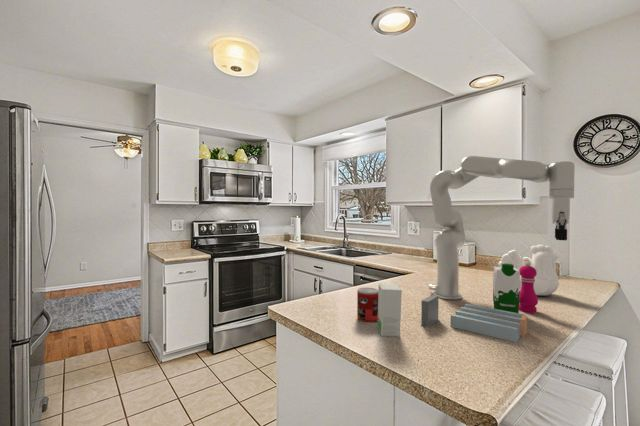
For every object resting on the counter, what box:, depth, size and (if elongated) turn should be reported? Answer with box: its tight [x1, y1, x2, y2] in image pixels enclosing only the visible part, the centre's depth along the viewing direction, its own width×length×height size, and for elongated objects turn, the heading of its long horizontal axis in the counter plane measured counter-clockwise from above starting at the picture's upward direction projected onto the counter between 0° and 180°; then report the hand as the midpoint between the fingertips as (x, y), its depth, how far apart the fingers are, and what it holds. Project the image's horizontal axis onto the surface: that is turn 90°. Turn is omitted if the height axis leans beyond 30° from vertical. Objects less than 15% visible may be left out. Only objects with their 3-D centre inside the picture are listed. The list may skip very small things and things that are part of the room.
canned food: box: [356, 287, 379, 323], centre depth 117 cm, size 8×8×11 cm
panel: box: [420, 294, 439, 328], centre depth 114 cm, size 10×2×9 cm, turn 139°
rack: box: [450, 303, 528, 343], centre depth 110 cm, size 21×18×6 cm
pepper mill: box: [519, 261, 539, 314], centre depth 128 cm, size 7×7×20 cm
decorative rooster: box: [497, 244, 560, 296], centre depth 156 cm, size 25×16×25 cm, turn 35°
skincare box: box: [377, 282, 403, 338], centre depth 105 cm, size 8×7×16 cm
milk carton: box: [492, 264, 520, 314], centre depth 124 cm, size 9×9×20 cm
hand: (560, 239), depth 119 cm, fingers open, 9 cm apart
